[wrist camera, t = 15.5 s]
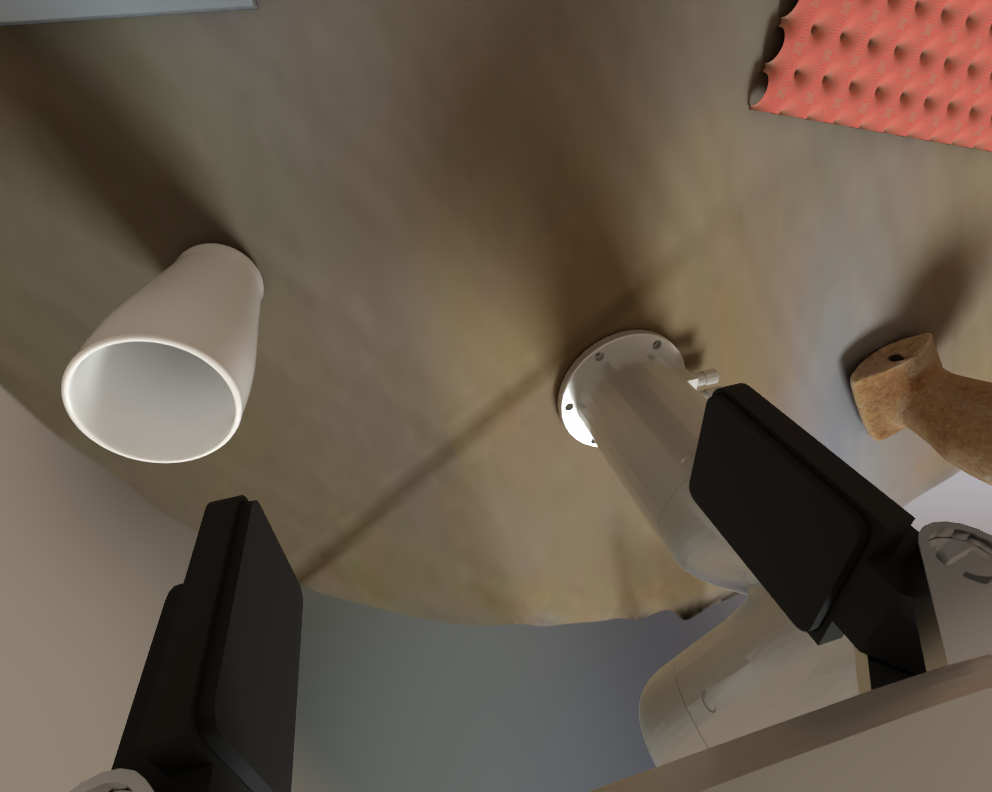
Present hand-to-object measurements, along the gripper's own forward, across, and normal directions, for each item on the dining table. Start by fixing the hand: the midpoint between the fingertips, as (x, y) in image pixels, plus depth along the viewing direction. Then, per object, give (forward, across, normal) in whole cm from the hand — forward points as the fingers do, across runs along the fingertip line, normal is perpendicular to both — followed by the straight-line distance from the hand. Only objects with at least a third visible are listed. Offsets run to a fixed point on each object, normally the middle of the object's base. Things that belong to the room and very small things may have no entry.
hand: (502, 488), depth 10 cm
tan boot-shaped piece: (+29, -53, +27) cm, 66 cm away
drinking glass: (+28, +12, +4) cm, 31 cm away
